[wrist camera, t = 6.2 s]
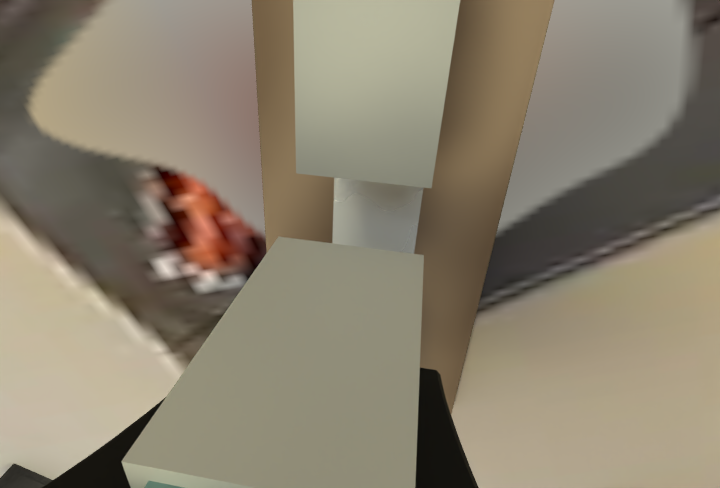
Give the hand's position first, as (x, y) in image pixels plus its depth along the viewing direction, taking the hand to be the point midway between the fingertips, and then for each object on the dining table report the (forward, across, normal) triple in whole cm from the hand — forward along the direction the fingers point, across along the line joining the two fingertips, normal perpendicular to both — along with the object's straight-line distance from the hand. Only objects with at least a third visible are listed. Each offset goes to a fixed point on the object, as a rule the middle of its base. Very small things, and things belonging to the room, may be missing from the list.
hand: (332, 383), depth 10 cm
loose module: (+2, 0, 0) cm, 2 cm away
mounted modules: (+8, 0, 0) cm, 8 cm away
